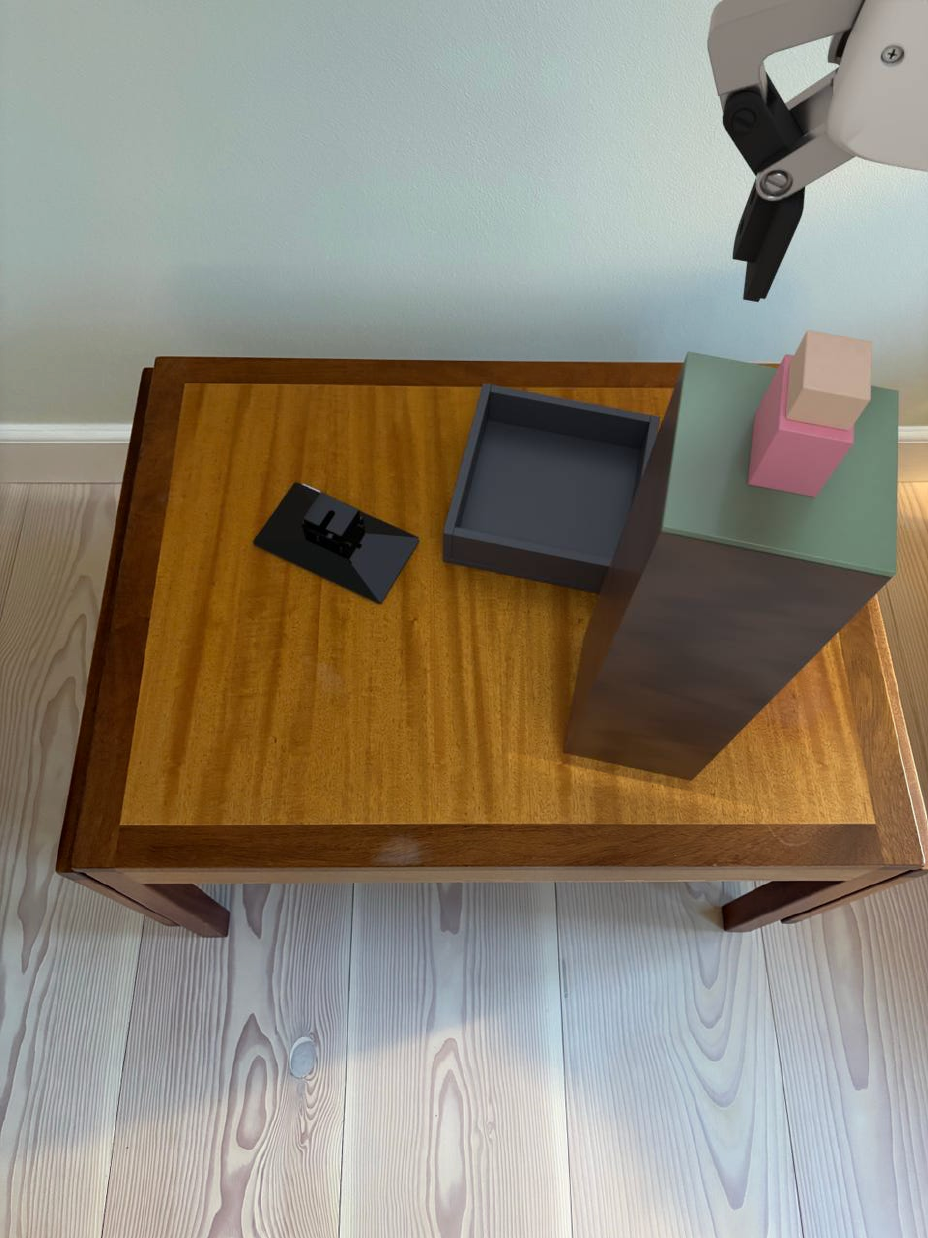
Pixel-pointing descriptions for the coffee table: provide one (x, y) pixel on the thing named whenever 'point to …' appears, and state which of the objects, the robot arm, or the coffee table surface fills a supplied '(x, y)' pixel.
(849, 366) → the pink block
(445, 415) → the coffee table surface
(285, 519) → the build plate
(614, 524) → the basin
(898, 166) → the robot arm
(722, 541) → the stand
